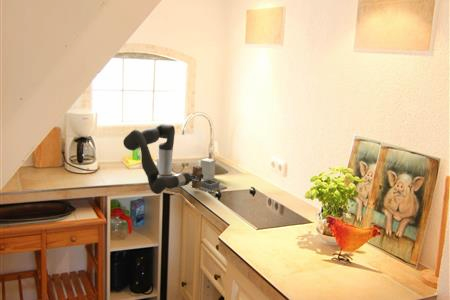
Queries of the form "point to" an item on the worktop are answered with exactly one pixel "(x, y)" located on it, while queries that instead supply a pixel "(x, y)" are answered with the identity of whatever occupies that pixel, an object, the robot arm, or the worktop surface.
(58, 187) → the worktop surface
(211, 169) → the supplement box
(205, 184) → the well board
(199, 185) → the walnut post
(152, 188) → the robot arm
